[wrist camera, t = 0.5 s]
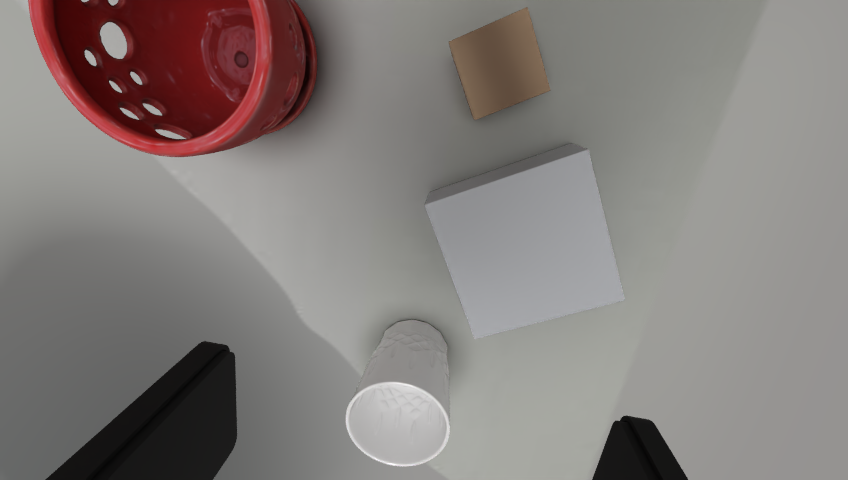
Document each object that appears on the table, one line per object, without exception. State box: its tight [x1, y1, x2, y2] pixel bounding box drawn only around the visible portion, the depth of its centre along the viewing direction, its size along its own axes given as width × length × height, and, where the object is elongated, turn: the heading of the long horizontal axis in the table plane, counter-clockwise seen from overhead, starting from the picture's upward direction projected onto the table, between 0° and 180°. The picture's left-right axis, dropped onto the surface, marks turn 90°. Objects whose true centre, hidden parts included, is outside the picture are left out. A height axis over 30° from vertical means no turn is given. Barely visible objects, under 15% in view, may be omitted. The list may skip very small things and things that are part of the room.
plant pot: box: [28, 0, 317, 157], centre depth 26 cm, size 13×13×12 cm
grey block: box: [425, 143, 625, 339], centre depth 32 cm, size 12×12×5 cm
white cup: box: [346, 320, 450, 466], centre depth 34 cm, size 8×8×10 cm
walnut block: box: [449, 7, 550, 120], centre depth 28 cm, size 5×5×6 cm
